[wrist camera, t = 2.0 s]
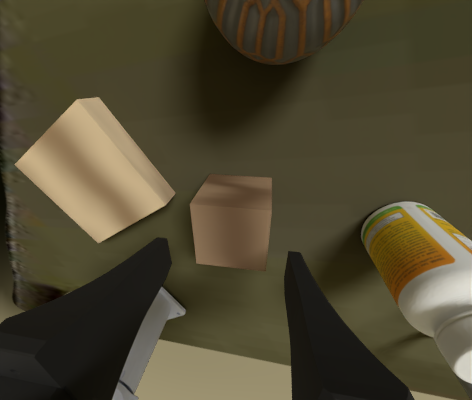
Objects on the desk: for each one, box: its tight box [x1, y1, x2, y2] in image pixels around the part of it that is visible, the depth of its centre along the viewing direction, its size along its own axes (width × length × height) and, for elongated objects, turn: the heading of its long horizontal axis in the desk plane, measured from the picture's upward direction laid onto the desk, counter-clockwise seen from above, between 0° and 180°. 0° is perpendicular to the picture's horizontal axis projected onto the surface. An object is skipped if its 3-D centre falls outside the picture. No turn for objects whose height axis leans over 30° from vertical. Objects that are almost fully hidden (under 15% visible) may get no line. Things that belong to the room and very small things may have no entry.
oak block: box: [15, 97, 176, 243], centre depth 18 cm, size 9×9×2 cm
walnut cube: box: [190, 174, 272, 271], centre depth 16 cm, size 5×5×5 cm
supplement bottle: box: [361, 202, 472, 384], centre depth 13 cm, size 5×5×10 cm
